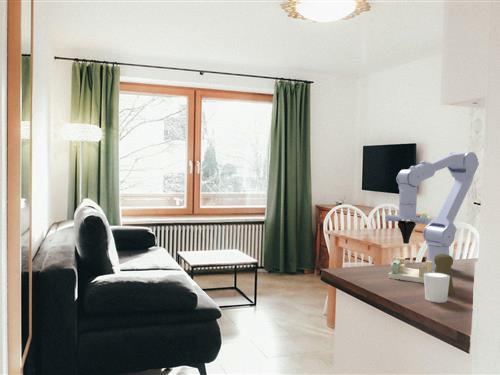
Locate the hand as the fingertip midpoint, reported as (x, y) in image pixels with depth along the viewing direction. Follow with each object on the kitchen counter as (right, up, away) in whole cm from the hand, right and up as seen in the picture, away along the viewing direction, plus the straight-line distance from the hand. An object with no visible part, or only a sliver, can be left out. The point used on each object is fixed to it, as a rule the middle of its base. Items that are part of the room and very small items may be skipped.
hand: (406, 243), depth 157 cm
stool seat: (0, -11, -5) cm, 12 cm away
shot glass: (-2, -12, -31) cm, 33 cm away
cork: (+3, -12, -23) cm, 26 cm away
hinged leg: (-5, -9, -4) cm, 11 cm away
